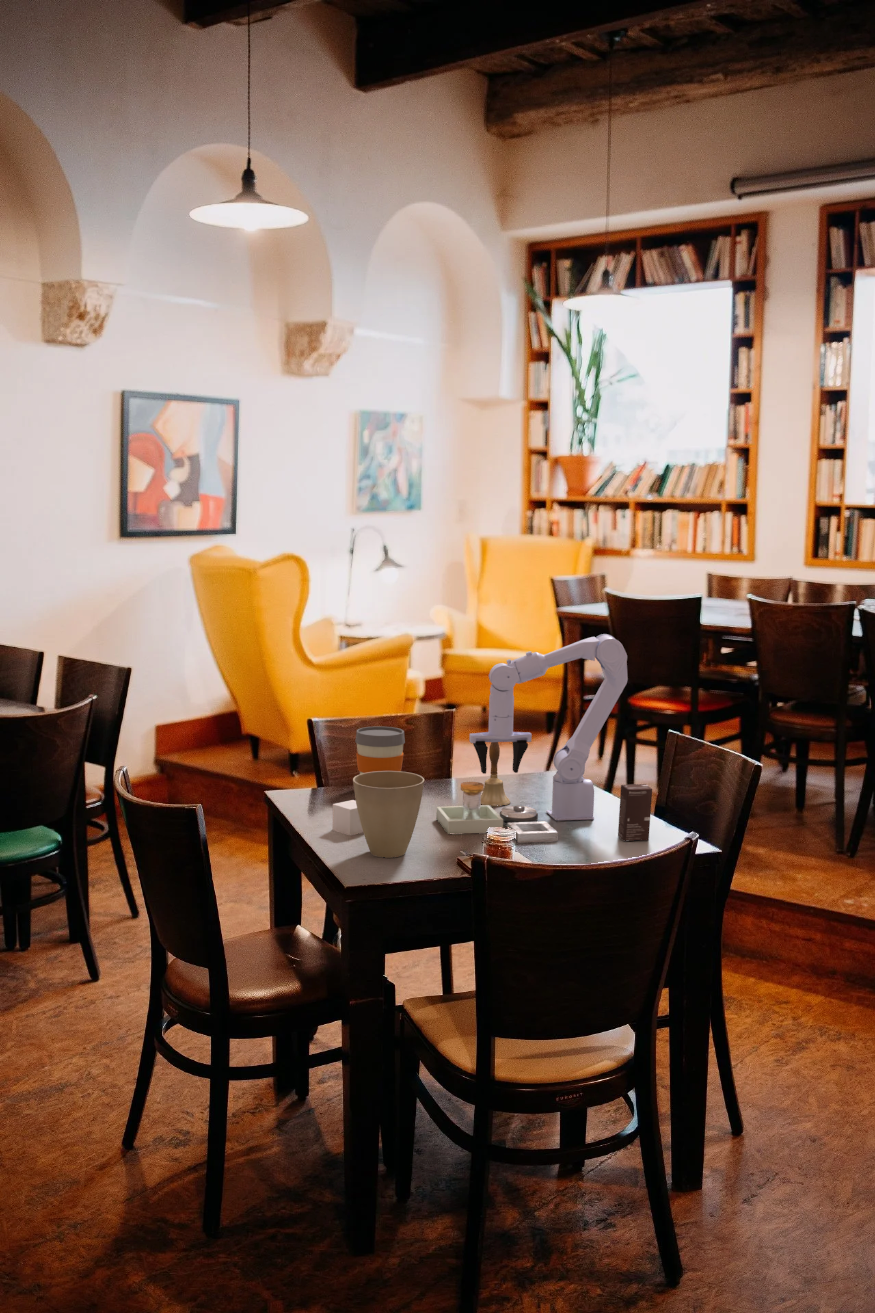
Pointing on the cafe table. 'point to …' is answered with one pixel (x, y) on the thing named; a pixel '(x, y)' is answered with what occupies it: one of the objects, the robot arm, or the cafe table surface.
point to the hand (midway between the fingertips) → (499, 772)
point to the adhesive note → (346, 818)
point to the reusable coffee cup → (379, 749)
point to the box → (634, 812)
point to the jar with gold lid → (471, 800)
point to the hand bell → (494, 782)
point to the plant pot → (388, 809)
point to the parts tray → (455, 824)
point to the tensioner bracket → (527, 825)
